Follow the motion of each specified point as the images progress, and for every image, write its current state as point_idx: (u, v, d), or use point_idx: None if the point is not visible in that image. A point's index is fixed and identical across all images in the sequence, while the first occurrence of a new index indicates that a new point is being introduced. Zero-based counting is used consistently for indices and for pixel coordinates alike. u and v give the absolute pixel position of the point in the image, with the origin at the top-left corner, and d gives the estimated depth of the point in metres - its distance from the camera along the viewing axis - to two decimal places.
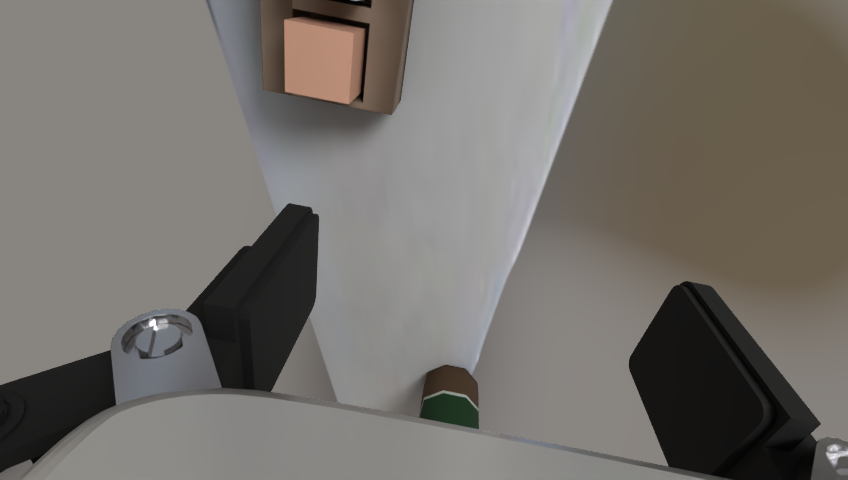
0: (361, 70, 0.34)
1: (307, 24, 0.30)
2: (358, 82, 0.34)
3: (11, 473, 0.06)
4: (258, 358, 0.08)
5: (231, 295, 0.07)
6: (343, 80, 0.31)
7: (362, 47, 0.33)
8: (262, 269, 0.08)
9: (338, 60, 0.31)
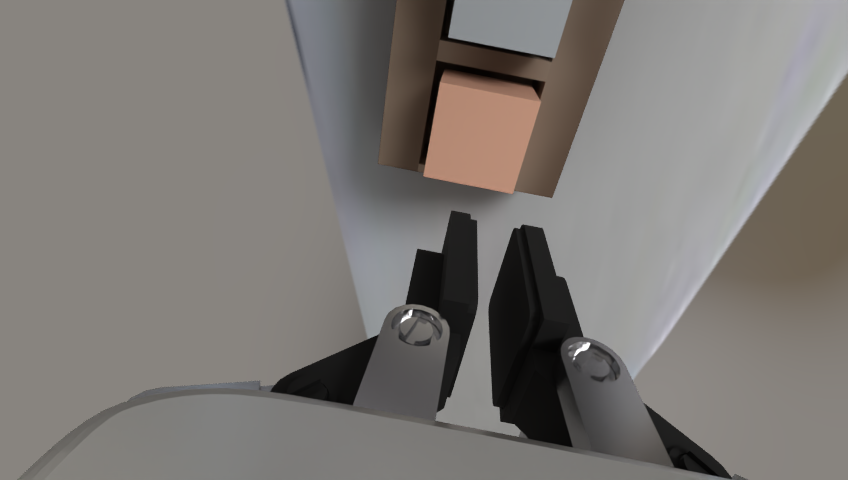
0: None
1: (473, 89, 0.20)
2: None
3: None
4: None
5: (460, 292, 0.08)
6: (511, 163, 0.22)
7: None
8: (468, 270, 0.09)
9: (510, 138, 0.21)
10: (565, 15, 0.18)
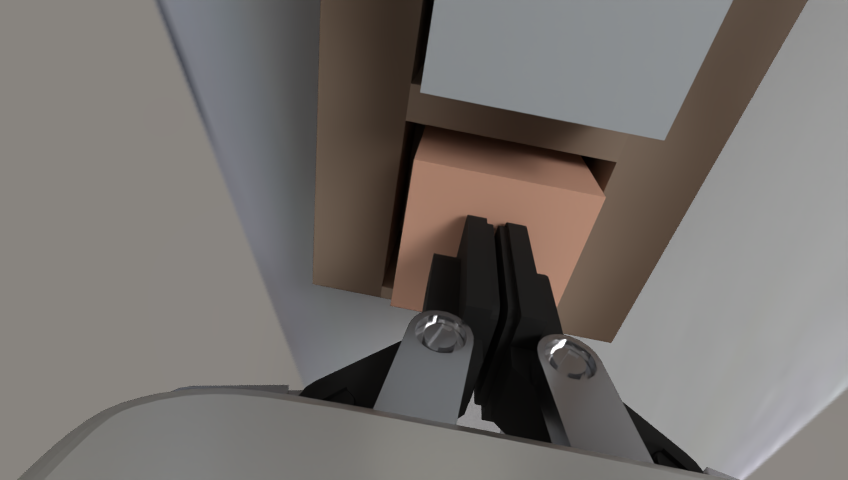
0: None
1: (476, 171, 0.11)
2: None
3: None
4: None
5: (482, 298, 0.08)
6: None
7: None
8: (488, 275, 0.09)
9: (544, 254, 0.12)
10: (704, 46, 0.07)
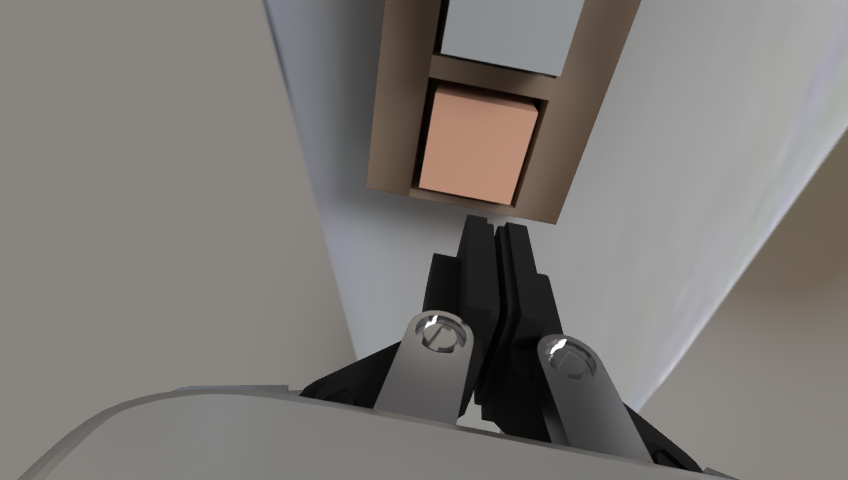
0: None
1: (469, 99, 0.20)
2: None
3: None
4: None
5: (482, 298, 0.08)
6: (508, 174, 0.22)
7: None
8: (488, 275, 0.09)
9: (507, 149, 0.21)
10: (572, 29, 0.16)
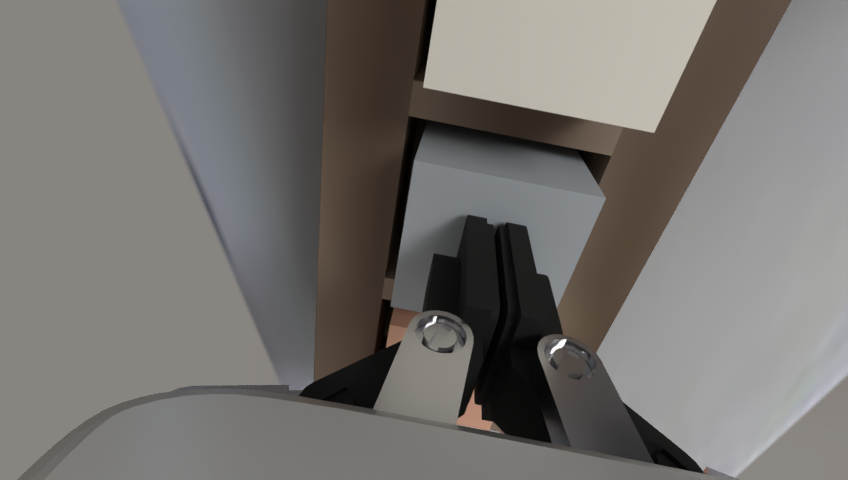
0: None
1: None
2: None
3: None
4: None
5: (482, 298, 0.08)
6: None
7: None
8: (488, 275, 0.09)
9: None
10: (559, 294, 0.12)
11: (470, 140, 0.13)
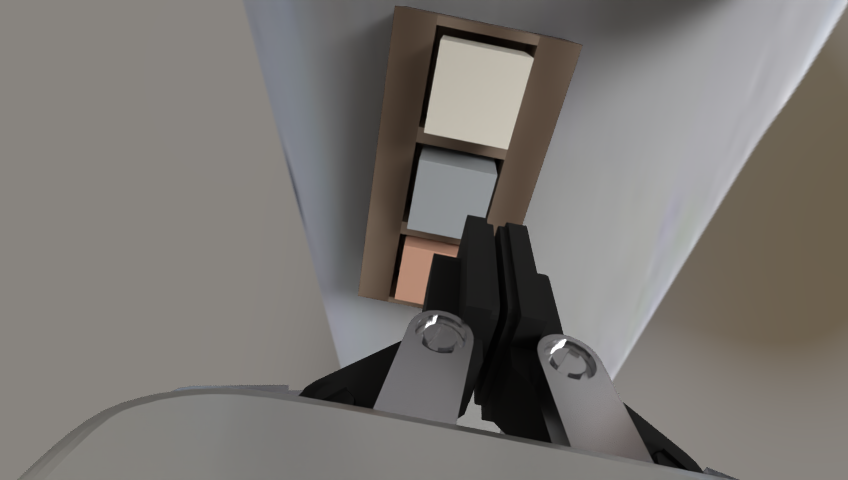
0: None
1: (426, 249, 0.31)
2: None
3: None
4: None
5: (482, 298, 0.08)
6: None
7: None
8: (488, 275, 0.09)
9: None
10: None
11: (443, 152, 0.28)
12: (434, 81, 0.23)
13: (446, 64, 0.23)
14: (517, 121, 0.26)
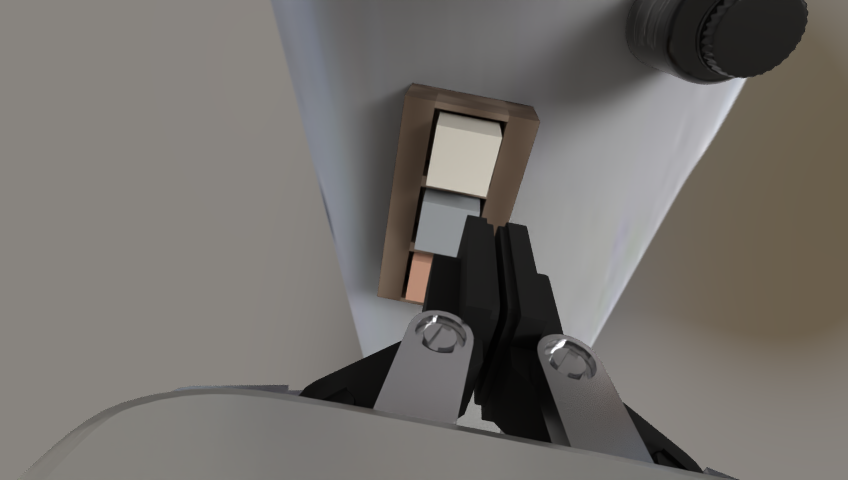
0: None
1: (429, 263, 0.41)
2: None
3: None
4: None
5: (482, 298, 0.08)
6: None
7: None
8: (488, 275, 0.09)
9: None
10: None
11: (441, 192, 0.38)
12: (432, 151, 0.33)
13: (441, 141, 0.32)
14: (495, 172, 0.36)
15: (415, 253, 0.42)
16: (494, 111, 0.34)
